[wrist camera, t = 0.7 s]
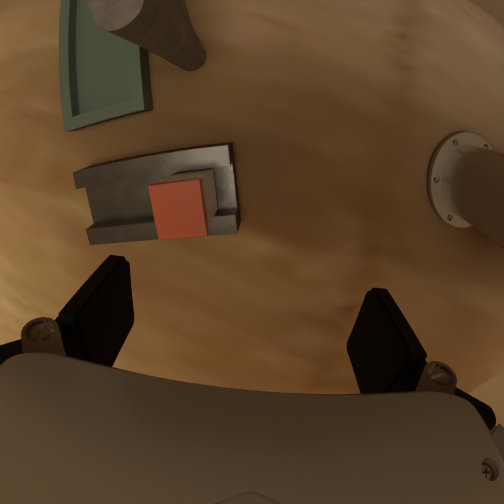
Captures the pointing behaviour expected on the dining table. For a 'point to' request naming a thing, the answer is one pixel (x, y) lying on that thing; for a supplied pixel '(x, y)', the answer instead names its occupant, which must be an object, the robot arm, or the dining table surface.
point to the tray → (98, 71)
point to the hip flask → (152, 28)
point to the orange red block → (184, 204)
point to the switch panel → (138, 197)
